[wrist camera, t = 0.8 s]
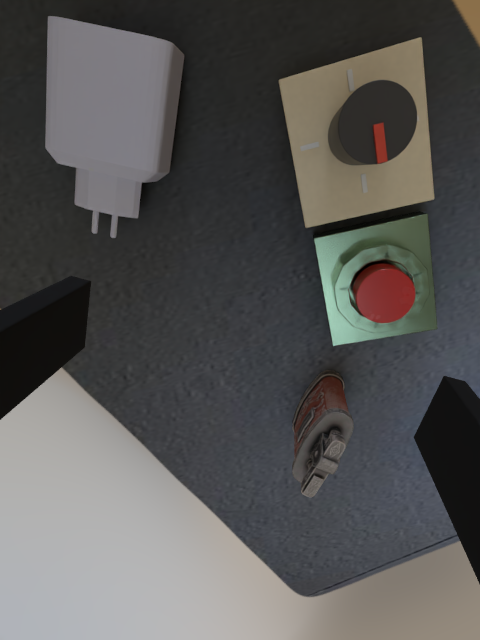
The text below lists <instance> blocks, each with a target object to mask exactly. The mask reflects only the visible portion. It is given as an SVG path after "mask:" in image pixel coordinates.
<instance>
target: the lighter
mask: <svg viewBox="0 0 480 640" xmlns="http://www.w3.org/2000/svg"><path fill="white" fill-rule="evenodd" d="M353 428H354V424H353V420H352V417H351V415H350V414H349V412H348V408H347V403H346V399H345V394H344V381H343V378H342V376H341V375H340V374H339V373H337V372H335V371H332V370H326V371H323V372H321V373H320V374H319V375H318V376H317V377H316V379H315V380H314V381H313V382H312V383H311V384H310V386H309V387H308V389H307V390H306V392H305V393H304V395H303V396H302V398H301V400H300V402H299V404H298V407H297V409H296V412H295V415H294V418H293V431H294V433H295V459H294V462H293V472H292V473H293V476H294V478H295V479H296V480H297V481H299V482H301V492H302V494H304V495H305V496H308V497H312V496H314V495H315V494H316V492H317V491H318V489H319V488H320V486H321V485H322V483H323V482H324V480H325V478H326V477H327V475H328V474H334V473H335V472H336V470H337V468H338V465H339V460H340V457H341V455H342V453H343V452H344V450H345V448H346V446H347V444H348V442H349V439H350V437H351V434H352V431H353Z"/></svg>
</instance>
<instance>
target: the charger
mask: <svg viewBox="0 0 480 640" xmlns="http://www.w3.org/2000/svg"><path fill="white" fill-rule="evenodd" d="M183 63H184V54H183V53H182V52H181V51H180V50H179V49H178V48H177V47H176V46H175V45H174V44H173V43H171V42H169V41H166V40H163V39H159V38H156V37H151V36H147V35H142V34H138V33H133V32H128V31H123V30H119V29H114V28H109V27H104V26H100V25H95V24H90V23H85V22H80V21H76V20H71V19H66V18H61V17H54V16H48V39H47V89H46V139H45V148H46V149H47V151H48V152H49V153H50V154H51V156H52V157H53V158H54V160H55V161H56V162H57V163H59V164H63V165H67V166H71V167H76V183H75V205H77V206H80V207H83V208H85V209H89V210H93V217H92V233H94V234H96V233H98V221H99V212H102V213H106V214H111V215H112V221H111V234H110V236H111V237H112V238H116V235H117V224H118V216H122V217H129V218H138V214H139V204H140V195H141V185H142V182H144V183H146V182H157V181H158V180H160V179H161V178H162V177H164V176H165V175H167V174H168V173H169V171H170V163H171V156H172V148H173V140H174V133H175V125H176V117H177V109H178V102H179V94H180V86H181V79H182V71H183Z"/></svg>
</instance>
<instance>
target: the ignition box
mask: <svg viewBox="0 0 480 640" xmlns="http://www.w3.org/2000/svg"><path fill="white" fill-rule="evenodd" d="M313 240H314V246H315V251H316V257H317V263H318V268H319V274H320V279H321V285H322V291H323V296H324V302H325V307H326V313H327V319H328V324H329V330H330V336H331V340H332V345H333V346H337V345H343V344H349V343H355V342H361V341H368V340H374V339H380V338H386V337H392V336H398V335H404V334H410V333H417V332H423V331H429V330H435V329H437V319H436V307H435V295H434V283H433V272H432V260H431V248H430V236H429V225H428V214H426V213H423V212H420V211H418V212H413V213H408V214H404V215H399V216H395V217H390V218H386V219H381V220H376V221H372V222H367V223H363V224H358V225H354V226H349V227H345V228H340V229H335V230H331V231H326V232H322V233H317V234H313ZM379 263H387V264H392V265H394V266H396V267H398V268H400V269H401V270H402V271H403V272H404V273H405V274H406V275H407V276H408V277H409V278H410V279H411V280H412V282H413V284H414V287H415V300H414V303H413V306H412V307H411V309H410V310H409V312H408V313H407V314H406V315H404V316H403V317H402V318H400V319H398V320H396V321H393V322H390V323H377V322H373V321H371V320H369V319H367V318H366V317H364V316H363V315H362V313H361V312H360V311H359V309H358V307H357V305H356V302H355V300H354V297H353V285H354V282H355V280H356V278H357V277H358V275H359V274H360V273H361V272H362V271H363V270H364V269H366V268H367V267H369V266H371V265H374V264H379Z"/></svg>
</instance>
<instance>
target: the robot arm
mask: <svg viewBox="0 0 480 640" xmlns="http://www.w3.org/2000/svg"><path fill="white" fill-rule="evenodd" d="M90 287H91V281H88V280H84V279H81V278H77V277H73V276H70V277H68V278H66V279H64V280H62V281H59V282H57V283H55V284H53V285H51V286H49V287H47V288H45V289H43V290H41V291H39V292H37V293H35V294H33V295H31V296H28V297H26V298H24V299H22V300H20V301H18V302H16V303H14V304H12V305H10V306H8V307H6V308H4V309H2V310H0V420H1V418H3V417H4V416H5V415H6V414H7V413H9V412H10V411H11V410H12V409H13V408H14V407H16V406H17V405H18V404H19V403H20V402H21V401H23V400H24V399H25V398H26V397H27V396H28V395H30V394H31V393H32V392H33V391H34V390H35V389H37V388H38V387H39V386H40V385H41V384H42V383H44V382H45V381H46V380H47V379H48V378H49V377H51V376H52V375H53V374H54V373H55V372H56V371H58V370H59V369H60V368H61V367H62V366H63V365H65V364H66V363H67V362H68V361H69V360H70V359H72V358H73V357H74V356H75V355H76V354H77V353H79V352H80V351H81V350H82V349H83V348H84V347H85V338H86V327H87V317H88V307H89V297H90ZM414 439H415V441H416V443H417V446H418V448H419V450H420V452H421V454H422V457H423V459H424V461H425V463H426V466H427V468H428V470H429V472H430V475H431V477H432V479H433V481H434V483H435V486H436V488H437V490H438V492H439V495H440V497H441V499H442V501H443V503H444V506H445V508H446V510H447V512H448V515H449V517H450V519H451V521H452V523H453V526H454V528H455V530H456V532H457V535H458V537H459V539H460V541H461V544H462V546H463V548H464V550H465V552H466V554H467V557H468V559H469V561H470V563H471V566H472V568H473V570H474V572H475V575H476V577H477V579H478V581H479V584H480V399H479V398H478V397H477V395H476V394H475V393H474V392H473V390H472V389H471V388H470V387H469V385H468V384H467V383H466V382H465V381H462V380H458V379H454V378H451V377H447V376H444V377H443V379H442V381H441V383H440V385H439V387H438V389H437V391H436V393H435V395H434V397H433V399H432V401H431V403H430V405H429V407H428V409H427V411H426V413H425V416H424V418H423V420H422V422H421V424H420V426H419V428H418V430H417V432H416V434H415V436H414Z"/></svg>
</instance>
